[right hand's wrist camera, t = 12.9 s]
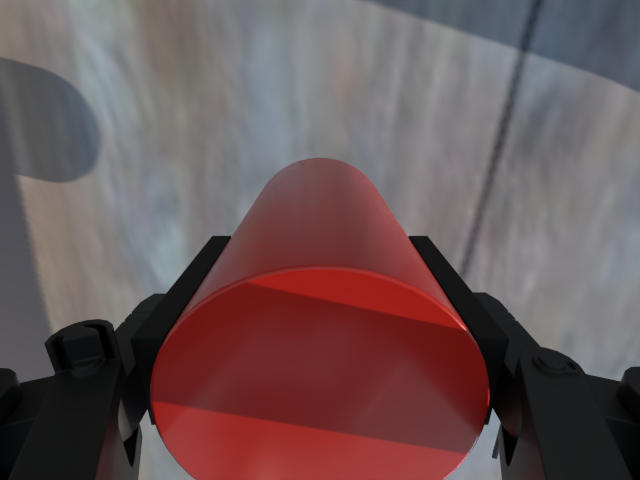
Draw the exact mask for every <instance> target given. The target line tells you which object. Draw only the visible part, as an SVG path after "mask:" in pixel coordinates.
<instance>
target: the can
mask: <svg viewBox="0 0 640 480" xmlns="http://www.w3.org/2000/svg"><path fill="white" fill-rule="evenodd" d="M489 398H490V395H489V377H488V373H487V368H486V364H485V360H484V358H483V356H482V353H481V351H480V349H479V346H478V344H477V342H476V341H475V339H474V338H473V336H472V335H471V333H470V332H469V330H468V328H467V327H466V325H465V324H464V322H463V321H462V319H461V318H460V316H459V315H458V313H457V312H456V310H455V308H454V307H453V305H452V304H451V302H450V301H449V299H448V298H447V296H446V295H445V293H444V292H443V290H442V289H441V287H440V286H439V284H438V282H437V281H436V279H435V278H434V276H433V275H432V273H431V272H430V270H429V269H428V267H427V266H426V264H425V263H424V261H423V259H422V258H421V256H420V255H419V253H418V252H417V250H416V249H415V247H414V246H413V244H412V243H411V241H410V240H409V238H408V236H407V235H406V233H405V232H404V230H403V229H402V227H401V226H400V224H399V223H398V221H397V220H396V218H395V217H394V215H393V213H392V212H391V210H390V209H389V207H388V206H387V204H386V203H385V201H384V200H383V198H382V197H381V195H380V194H379V192H378V190H377V189H376V187H375V186H374V184H373V183H372V182H371V181H370V180H369V178H368V177H367V176H365V175H364V174H363V173H362V172H361V171H359V170H358V169H356V168H355V167H353V166H351V165H349V164H347V163H344V162H341V161H338V160H334V159H328V158H313V159H306V160H302V161H298V162H296V163H293V164H291V165H289V166H287V167H285V168H283V169H282V170H281V171H279V172H278V173H277V174H276V175H275V176H273V177H272V178H271V179H270V181H269V182H268V183H267V184H266V186H265V187H264V189H263V190H262V192H261V193H260V195H259V196H258V198H257V199H256V201H255V202H254V204H253V205H252V207H251V208H250V210H249V211H248V213H247V214H246V216H245V218H244V219H243V221H242V222H241V224H240V225H239V227H238V228H237V230H236V231H235V233H234V234H233V236H232V237H231V239H230V240H229V242H228V243H227V245H226V246H225V248H224V250H223V251H222V253H221V254H220V256H219V257H218V259H217V260H216V262H215V263H214V265H213V266H212V268H211V269H210V271H209V272H208V274H207V275H206V277H205V279H204V280H203V282H202V283H201V285H200V286H199V288H198V289H197V291H196V292H195V294H194V295H193V297H192V298H191V300H190V301H189V303H188V304H187V306H186V308H185V309H184V311H183V312H182V314H181V315H180V317H179V318H178V320H177V321H176V323H175V324H174V326H173V327H172V329H171V330H170V332H169V334H168V335H167V337H166V339H165V341H164V342H163V344H162V346H161V348H160V349H159V352H158V355H157V358H156V360H155V363H154V366H153V371H152V377H151V383H150V400H151V408H152V413H153V419H154V422H155V424H156V427H157V430H158V433H159V435H160V437H161V439H162V440H163V442H164V444H165V446H166V448H167V449H168V451H169V452H170V453H171V455H172V456H173V457H174V459H175V460H176V461H177V463H178V464H179V465H180V466H181V467H182V468H183V469H184V470H185V471H186V472H187V473H188V474H189V475H190V476H192V477H193V478H194V479H196V480H444V479H446V478H447V477H448V476H449V475H450V474H451V473H452V472H454V471H455V470H456V469H457V467H458V466H459V465H460V464H461V463H462V462H463V461H464V460H465V459H466V457H467V456H468V454H469V453H470V452H471V450H472V449H473V447H474V446H475V444H476V442H477V440H478V438H479V436H480V434H481V432H482V430H483V427H484V424H485V420H486V417H487V414H488V406H489Z"/></svg>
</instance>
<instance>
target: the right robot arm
mask: <svg viewBox="0 0 640 480" xmlns="http://www.w3.org/2000/svg"><path fill="white" fill-rule="evenodd" d="M230 239H231V236H212V237H211V239H210V240H209V241H208V242H207V244H206V245H205V246H204V247H203V249H202V250H201V251H200V252H199V254H198V255H197V256H196V257H195V259H194V260H193V261H192V262H191V264H190V265H189V266H188V267H187V269H186V270H185V271H184V272H183V273H182V275H181V276H180V277H179V278H178V280H177V281H176V282H175V283H174V285H173V286H172V287H171V288H170V290H169V291H168V292H167V293H166V294H153V295H152V296H150V297H148V298H147V299H145V300H143V301H142V302H140V304H139V305H138V306H137V307H136V308H135V309H134V310H133V311H132V314H130V315H129V316H128V317H127V318H126V319H125V322H123V323H122V324H121V325H120V326H119V327H118V328H117V329H116V330H115V331H114V328H113V324H111V323H110V322H108V321H107V320H100V319H95V320H86V321H82V322H78V323H75V324H72V325H70V326H67V327H65V328H63V329H61V330H59V331H58V332H56V333H55V334H53V335H52V336H51V337H50V338H49V339H48V340H47V341H46V342H45V347H46V349H47V352H48V355H49V357H50V360H51V363H52V365H53V368H54V371H55V375H54V376H51V377H46V378H41V379H37V380H32V381H28V382H23V383H19V380H18V378H17V376H16V373H15V372H14V371H12V370H11V369H6V368H0V480H138V474H139V464H140V455H141V445H142V432H141V427H140V424H139V423H140V421H141V419H142V418H143V416H144V414H145V412H146V410H147V409H148V412H149V416H150V420H151V424H152V425H156V424H155V422H154V419H153V413H152V408H151V400H150V383H151V377H152V371H153V366H154V363H155V360H156V358H157V355H158V352H159V349H160V348H161V346H162V344H163V342H164V341H165V339H166V337H167V335H168V334H169V332H170V330H171V329H172V327H173V326H174V324H175V323H176V321H177V320H178V318H179V317H180V315H181V314H182V312H183V311H184V309H185V308H186V306H187V304H188V303H189V301H190V300H191V298H192V297H193V295H194V294H195V292H196V291H197V289H198V288H199V286H200V285H201V283H202V282H203V280H204V279H205V277H206V275H207V274H208V272H209V271H210V269H211V268H212V266H213V265H214V263H215V262H216V260H217V259H218V257H219V256H220V254H221V253H222V251H223V250H224V248H225V246H226V245H227V243H228V242H229V240H230ZM409 240H410V241H411V243H412V244H413V246H414V247H415V249H416V250H417V252H418V253H419V255H420V256H421V258H422V259H423V261H424V263H425V264H426V266H427V267H428V269H429V270H430V272H431V273H432V275H433V276H434V278H435V279H436V281H437V282H438V284H439V286H440V287H441V289H442V290H443V292H444V293H445V295H446V296H447V298H448V299H449V301H450V302H451V304H452V305H453V307H454V308H455V310H456V312H457V313H458V315H459V316H460V318H461V319H462V321H463V322H464V324H465V325H466V327H467V328H468V330H469V332H470V333H471V335H472V336H473V338H474V339H475V341H476V342H477V344H478V346H479V349H480V351H481V353H482V356H483V358H484V360H485V364H486V368H487V373H488V377H489V395H490V398H489V406H488V414H487V417H486V420H485V424H484V425H488V423H489V419H490V415H491V411H492V408H493V409H494V411H495V413H496V414H497V416H498V418H499V420H500V422H501V424H500V427H499V431H498V435H497V438H496V442H495V446H494V449H493V455H492V458H495V459H497V457H498V453H499V454H500V463H501V473H502V480H640V367H630V368H629V369H627V370H626V371H625V372H624V375H623V377H622V380H621V382H620V381H615V380H611V379H606V378H601V377H596V376H592V375H588V374H585V372H584V371H583V370H582V368H581V367H580V366H579V364H577V363H576V362H575V361H573V360H572V359H571V358H570V357H568V356H566V355H564V354H562V353H560V352H558V351H555V350H551V349H548V348H544V347H540V346H539V345H538V343H537V342H536V341H535V340H534V339H533V338H532V337H531V336H530V335H529V333H528V332H527V331H526V330H525V329H524V328H523V327H522V326H521V325H520V323H519V322H518V321H516V320H515V318H514V317H513V316H512V315H511V313H508V310H507V309H506V308H505V307H504V306H503V305H502V303H501V302H500V301H498V300H497V299H495V298H494V297H492V296H490V295H489V294H487V293H472V291H471V290H470V289H469V288H468V286H467V285H466V284H465V283H464V281H463V280H462V279H461V278H460V276H459V275H458V274H457V273H456V271H455V270H454V269H453V268H452V266H451V265H450V264H449V263H448V261H447V260H446V259H445V258H444V256H443V255H442V254H441V253H440V251H439V250H438V249H437V248H436V246H435V245H434V244H433V243H432V241H431V240H430V239H429V238H428V236H409Z"/></svg>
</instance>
